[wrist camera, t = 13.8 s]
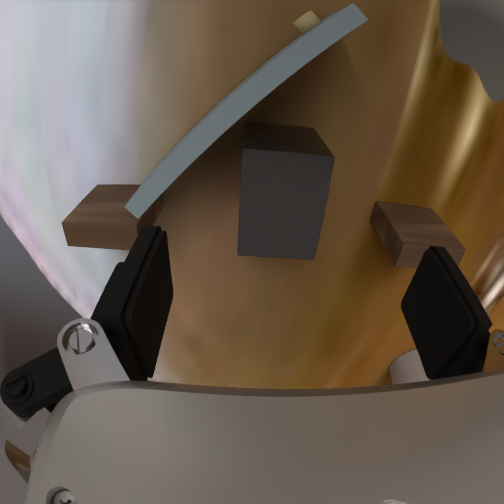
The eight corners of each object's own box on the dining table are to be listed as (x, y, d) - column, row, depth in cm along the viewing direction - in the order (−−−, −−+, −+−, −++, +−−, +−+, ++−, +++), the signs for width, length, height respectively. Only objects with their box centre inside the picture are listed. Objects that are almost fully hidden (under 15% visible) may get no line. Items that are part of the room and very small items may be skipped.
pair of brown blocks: (97, 184, 25) (61, 222, 19) (431, 208, 25) (465, 249, 20) (100, 204, 26) (68, 245, 20) (425, 227, 27) (456, 269, 21)
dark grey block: (246, 122, 22) (242, 148, 16) (313, 127, 22) (334, 157, 16) (241, 205, 26) (237, 255, 20) (301, 209, 26) (314, 259, 20)
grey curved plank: (141, 164, 23) (112, 197, 18) (319, 4, 16) (340, -12, 11) (161, 181, 24) (138, 219, 19) (340, 27, 17) (368, 19, 12)
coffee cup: (388, 386, 43) (407, 470, 31) (371, 361, 39) (394, 461, 27) (441, 362, 40) (470, 444, 28) (434, 332, 36) (471, 429, 24)
